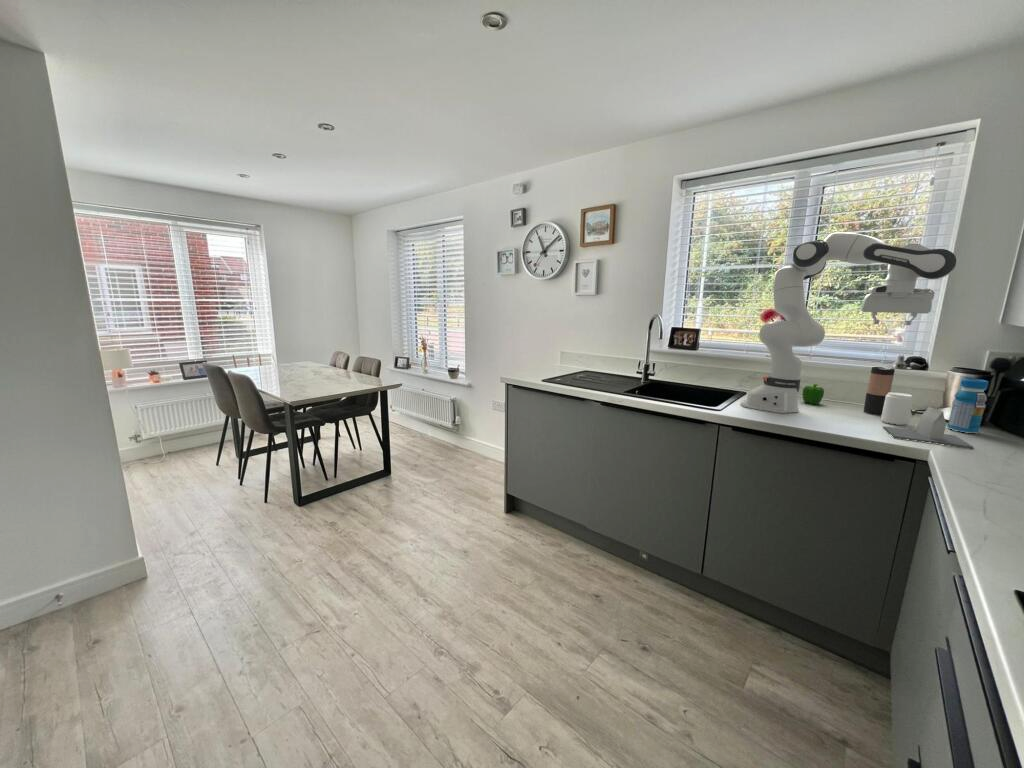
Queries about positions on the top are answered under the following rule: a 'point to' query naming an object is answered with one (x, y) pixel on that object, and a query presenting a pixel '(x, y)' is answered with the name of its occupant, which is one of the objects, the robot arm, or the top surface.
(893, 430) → the charcoal mat
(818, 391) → the bell pepper
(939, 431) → the grey block
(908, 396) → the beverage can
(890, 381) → the travel mug
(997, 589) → the top surface
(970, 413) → the beverage bottle
